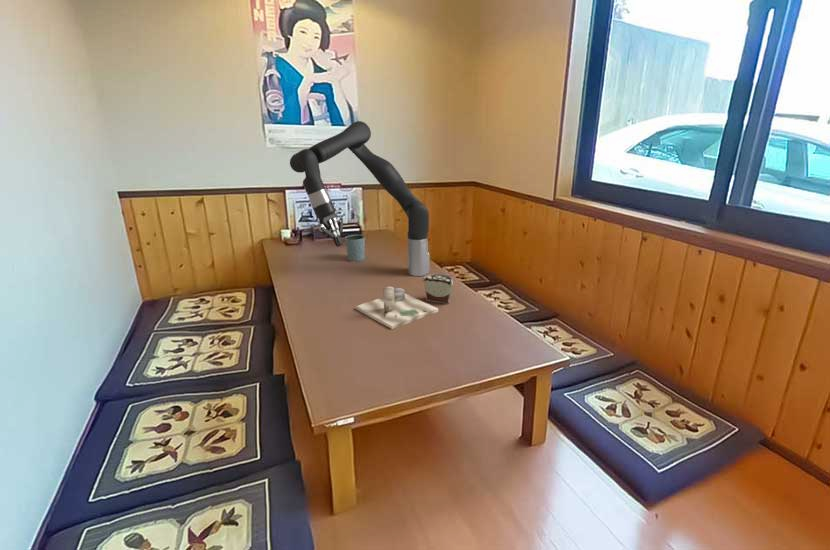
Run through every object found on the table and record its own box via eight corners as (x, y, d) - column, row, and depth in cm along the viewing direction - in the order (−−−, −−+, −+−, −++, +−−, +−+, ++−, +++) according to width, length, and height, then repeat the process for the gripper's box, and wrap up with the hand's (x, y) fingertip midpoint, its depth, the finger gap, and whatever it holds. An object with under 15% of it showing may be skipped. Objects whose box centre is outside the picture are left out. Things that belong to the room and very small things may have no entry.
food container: (457, 298, 178) (457, 275, 174) (451, 304, 172) (452, 280, 169) (429, 294, 183) (429, 271, 179) (423, 299, 177) (422, 276, 174)
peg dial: (392, 294, 179) (391, 275, 176) (406, 295, 178) (406, 276, 175) (378, 313, 162) (376, 292, 159) (393, 314, 161) (392, 293, 158)
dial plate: (400, 294, 183) (400, 291, 183) (438, 311, 167) (438, 308, 166) (355, 309, 170) (355, 305, 169) (392, 329, 153) (391, 325, 153)
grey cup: (369, 258, 230) (368, 236, 226) (357, 263, 222) (356, 240, 218) (354, 255, 236) (353, 233, 232) (342, 260, 228) (340, 238, 224)
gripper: (326, 201, 173) (343, 241, 177) (302, 210, 163) (322, 253, 167) (339, 196, 168) (357, 237, 172) (316, 205, 158) (335, 249, 162)
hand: (339, 245), depth 169 cm, fingers closed
